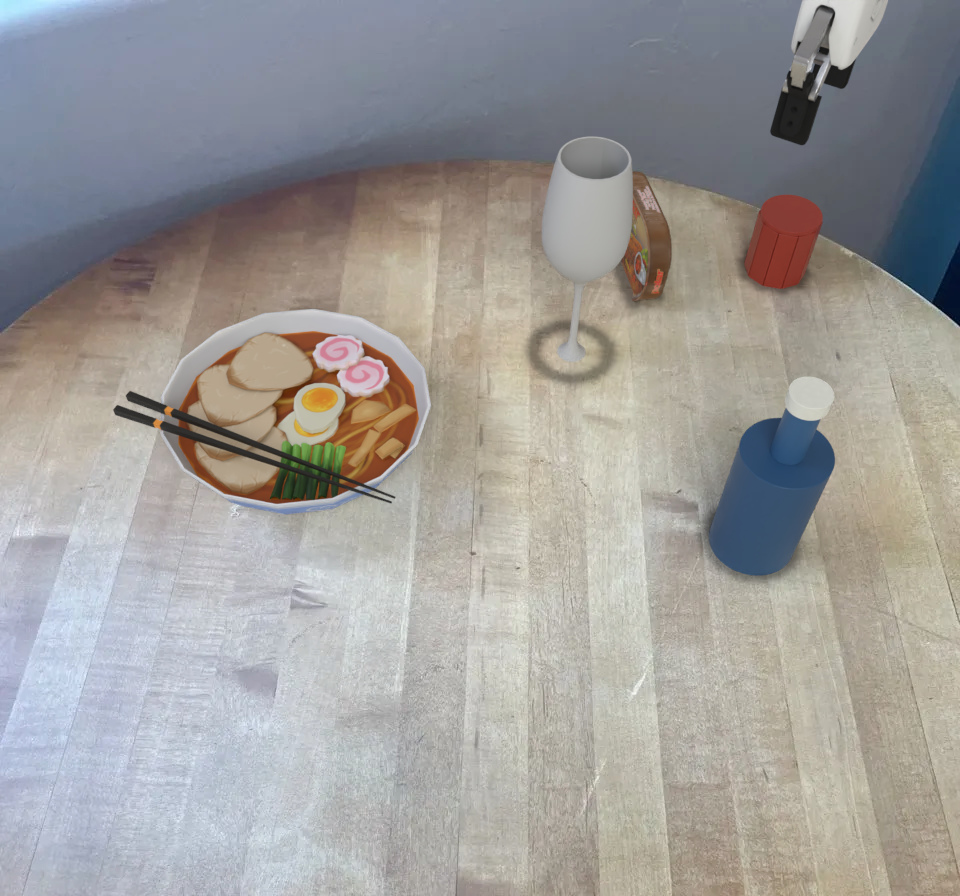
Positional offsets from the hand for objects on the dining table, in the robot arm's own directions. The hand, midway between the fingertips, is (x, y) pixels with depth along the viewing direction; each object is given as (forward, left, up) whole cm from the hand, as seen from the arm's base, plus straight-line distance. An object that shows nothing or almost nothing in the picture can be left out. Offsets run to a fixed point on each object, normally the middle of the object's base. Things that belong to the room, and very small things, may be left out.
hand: (808, 110), depth 86 cm
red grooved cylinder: (-1, -4, -20) cm, 20 cm away
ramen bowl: (+25, +42, -20) cm, 53 cm away
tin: (+12, +3, -20) cm, 24 cm away
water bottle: (-13, +30, -20) cm, 38 cm away
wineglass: (+11, +18, -20) cm, 29 cm away
